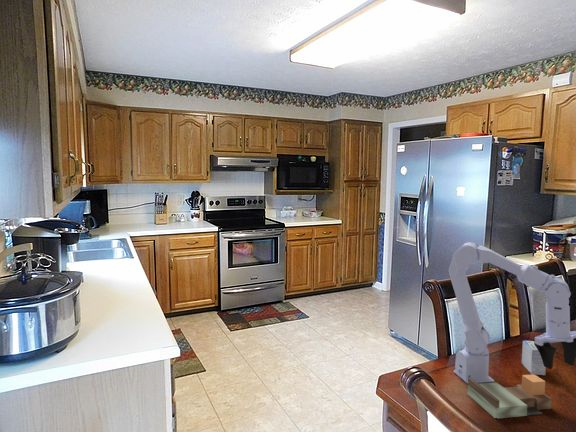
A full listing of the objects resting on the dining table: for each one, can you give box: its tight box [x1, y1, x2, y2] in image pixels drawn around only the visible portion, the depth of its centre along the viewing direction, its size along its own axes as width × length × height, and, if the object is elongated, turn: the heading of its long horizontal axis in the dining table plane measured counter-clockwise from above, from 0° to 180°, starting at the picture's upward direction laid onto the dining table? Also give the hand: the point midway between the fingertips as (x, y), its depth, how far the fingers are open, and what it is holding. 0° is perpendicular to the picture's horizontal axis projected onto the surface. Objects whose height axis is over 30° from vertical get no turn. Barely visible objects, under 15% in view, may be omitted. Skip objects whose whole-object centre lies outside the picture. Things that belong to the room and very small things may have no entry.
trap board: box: [467, 378, 553, 419], centre depth 107 cm, size 19×12×5 cm, turn 99°
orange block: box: [521, 374, 546, 396], centre depth 108 cm, size 4×4×4 cm
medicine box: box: [521, 340, 547, 376], centre depth 127 cm, size 8×4×9 cm, turn 168°
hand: (558, 365), depth 110 cm, fingers open, 7 cm apart
